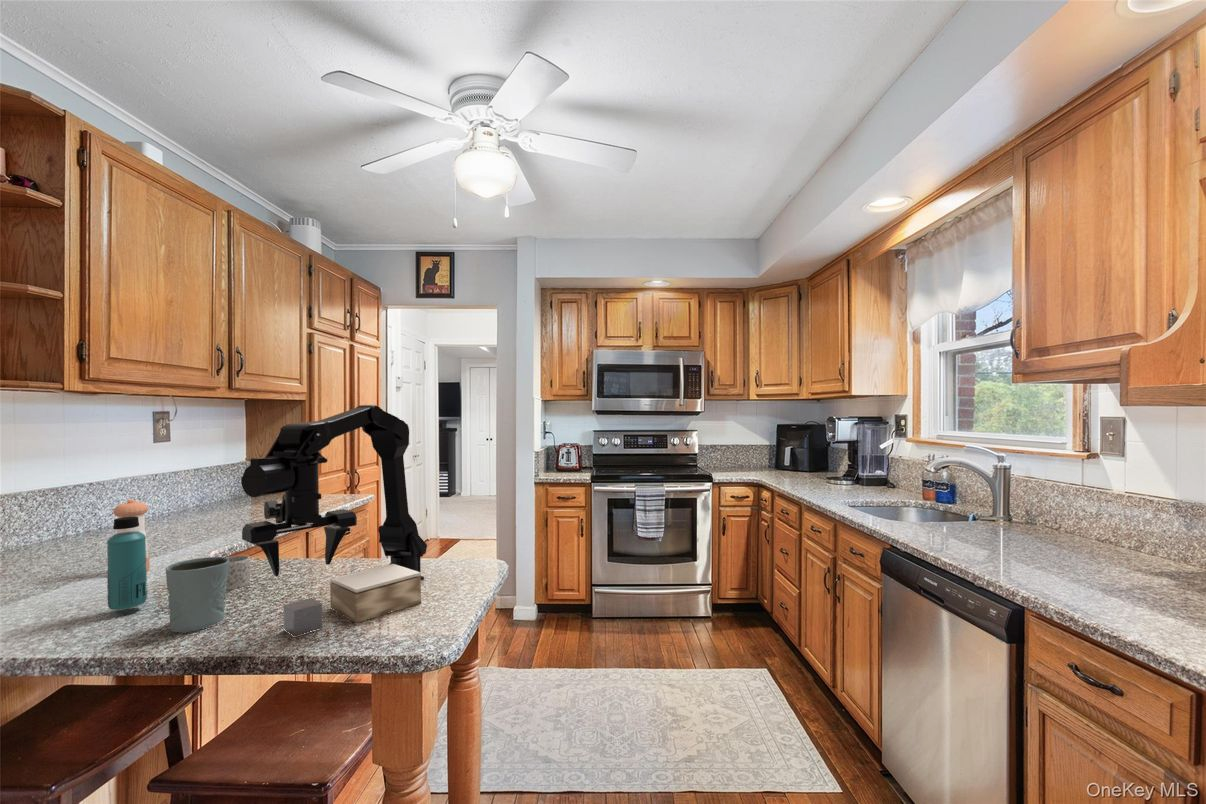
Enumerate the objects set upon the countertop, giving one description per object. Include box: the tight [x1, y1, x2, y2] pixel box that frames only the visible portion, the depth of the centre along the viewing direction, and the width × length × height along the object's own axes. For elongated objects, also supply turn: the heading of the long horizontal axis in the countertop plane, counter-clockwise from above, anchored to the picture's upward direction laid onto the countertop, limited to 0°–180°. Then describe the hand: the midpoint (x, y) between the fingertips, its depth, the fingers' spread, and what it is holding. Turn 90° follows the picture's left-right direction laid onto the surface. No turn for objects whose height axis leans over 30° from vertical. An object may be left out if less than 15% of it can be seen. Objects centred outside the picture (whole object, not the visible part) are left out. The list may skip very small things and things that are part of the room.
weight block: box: [283, 597, 323, 637], centre depth 104 cm, size 5×5×5 cm
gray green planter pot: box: [165, 556, 229, 634], centre depth 108 cm, size 10×10×12 cm
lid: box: [329, 563, 422, 593], centre depth 116 cm, size 14×12×1 cm
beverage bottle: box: [106, 516, 149, 611], centre depth 115 cm, size 6×7×20 cm
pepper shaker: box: [113, 498, 150, 572], centre depth 144 cm, size 7×7×19 cm
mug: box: [225, 554, 251, 592], centre depth 129 cm, size 10×7×7 cm, turn 168°
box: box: [329, 576, 422, 624], centre depth 116 cm, size 14×12×6 cm
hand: (302, 569), depth 104 cm, fingers open, 9 cm apart
